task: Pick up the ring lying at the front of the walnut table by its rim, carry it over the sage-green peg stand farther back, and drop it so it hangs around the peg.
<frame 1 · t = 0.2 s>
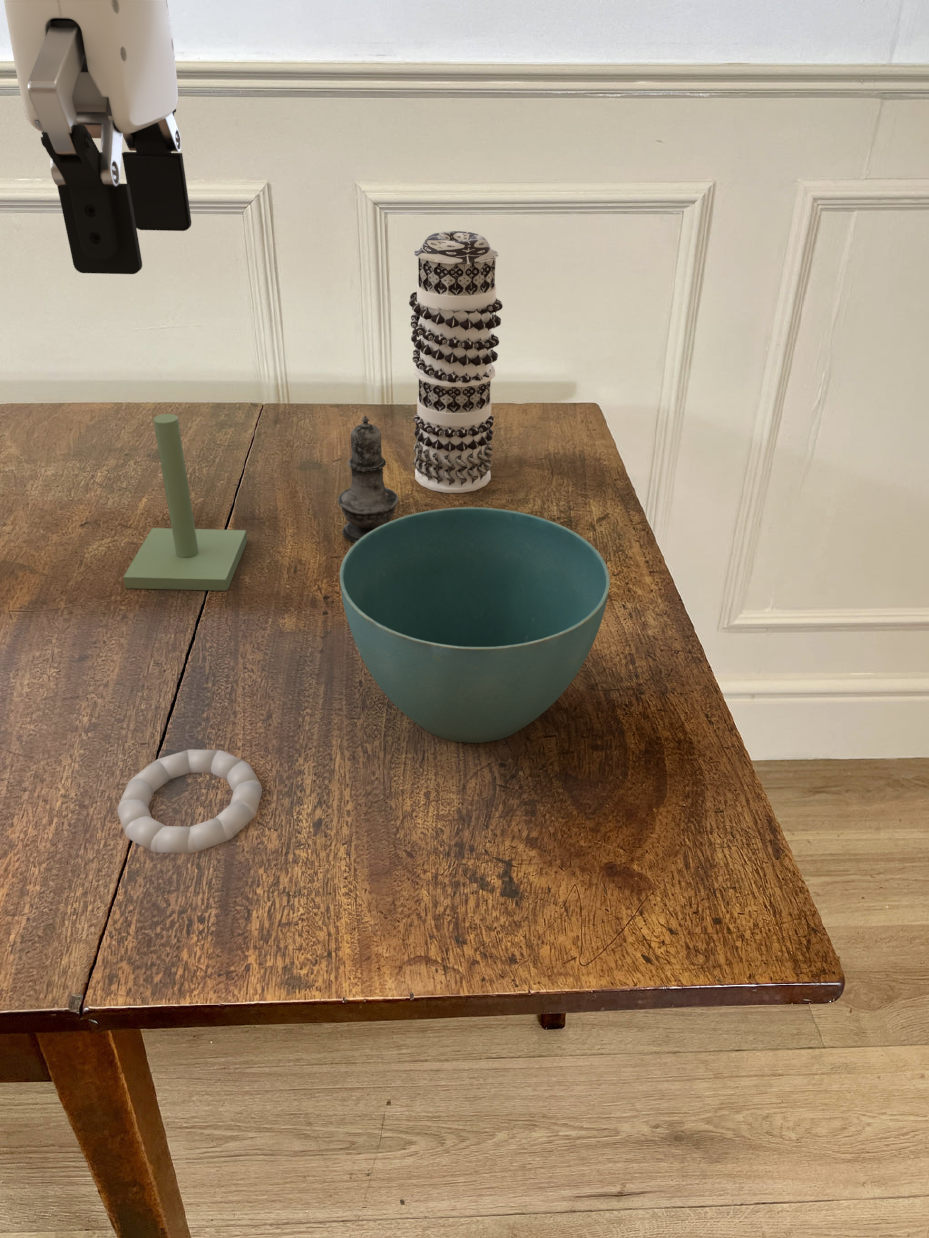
hand: (138, 249, 50), 33 cm above the table, tool pointing down, fingers open, 9 cm apart
rack: (189, 563, 87), on the table
decorative candle: (452, 477, 104), on the table
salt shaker: (369, 533, 93), on the table
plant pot: (469, 710, 71), on the table
ring: (191, 800, 61), point 1 cm above the table
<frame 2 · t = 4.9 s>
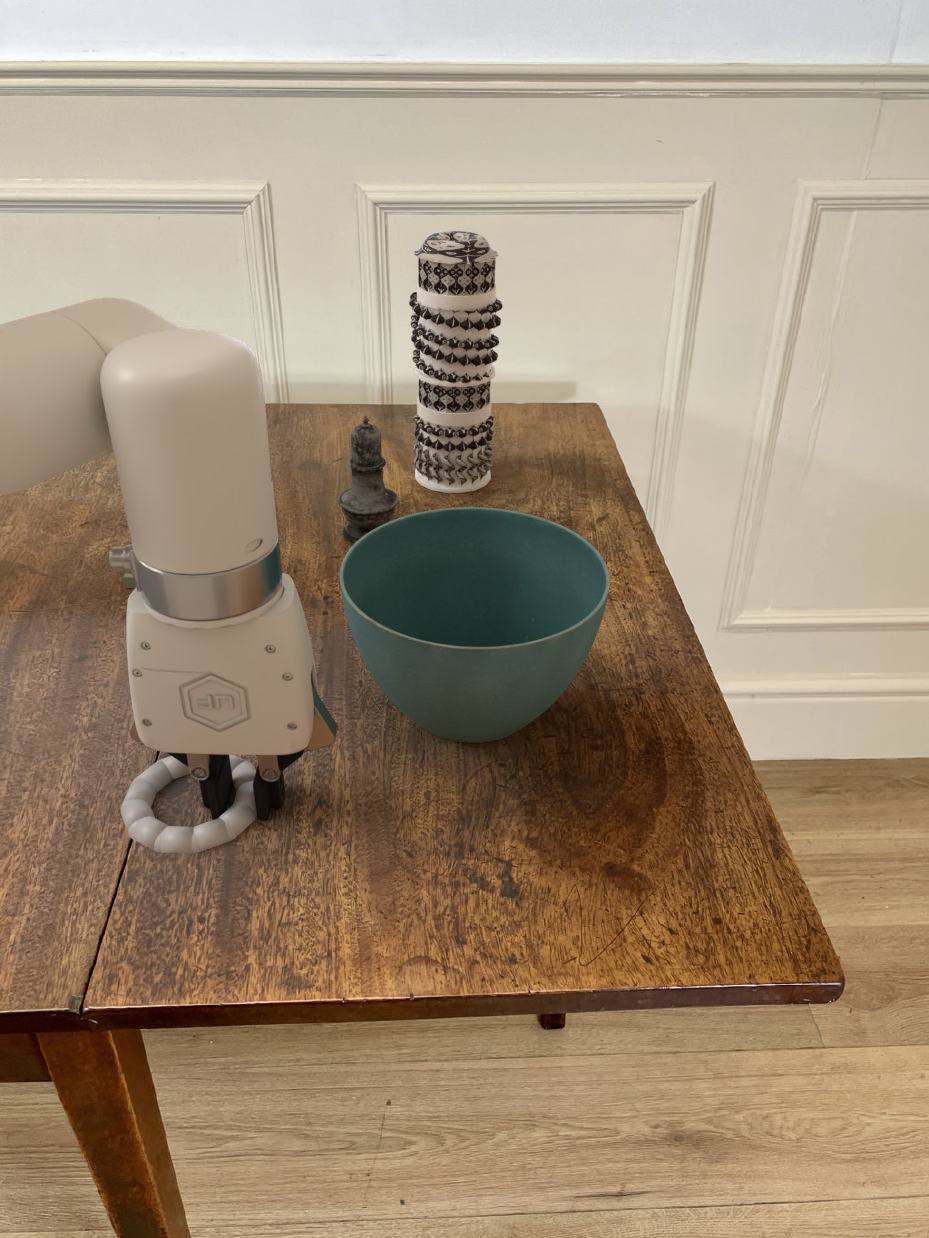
hand: (246, 809, 61), 0 cm above the table, tool pointing down, fingers closed on ring, 2 cm apart
ring: (194, 800, 61), point 1 cm above the table, touching gripper
everything else where it was.
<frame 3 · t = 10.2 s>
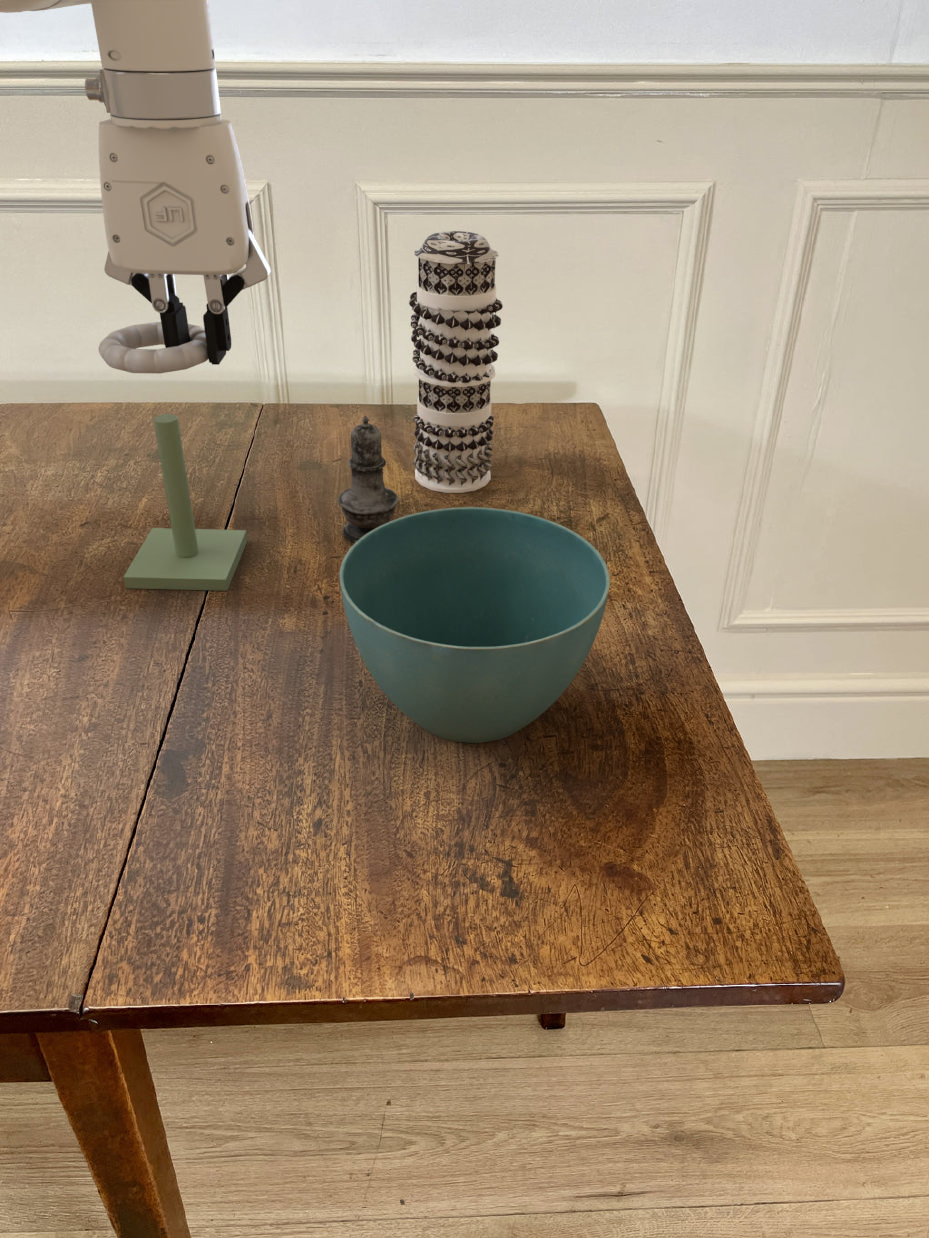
hand: (200, 356, 76), 20 cm above the table, tool pointing down, fingers closed on ring
ring: (158, 346, 75), point 20 cm above the table, touching gripper
everything else where it was.
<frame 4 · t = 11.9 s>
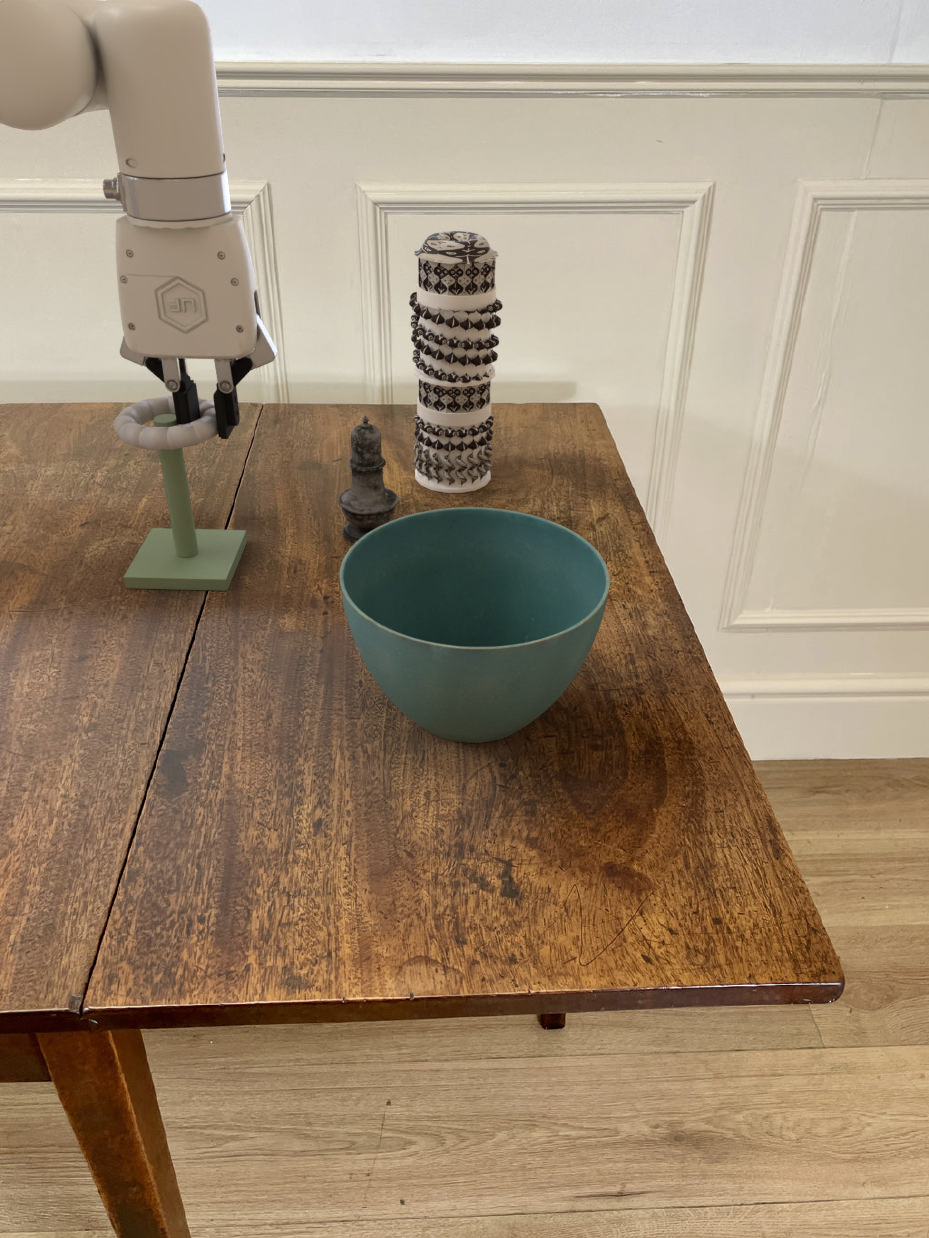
hand: (210, 430, 80), 13 cm above the table, tool pointing down, fingers closed on ring
ring: (169, 421, 79), point 14 cm above the table, touching gripper
everything else where it was.
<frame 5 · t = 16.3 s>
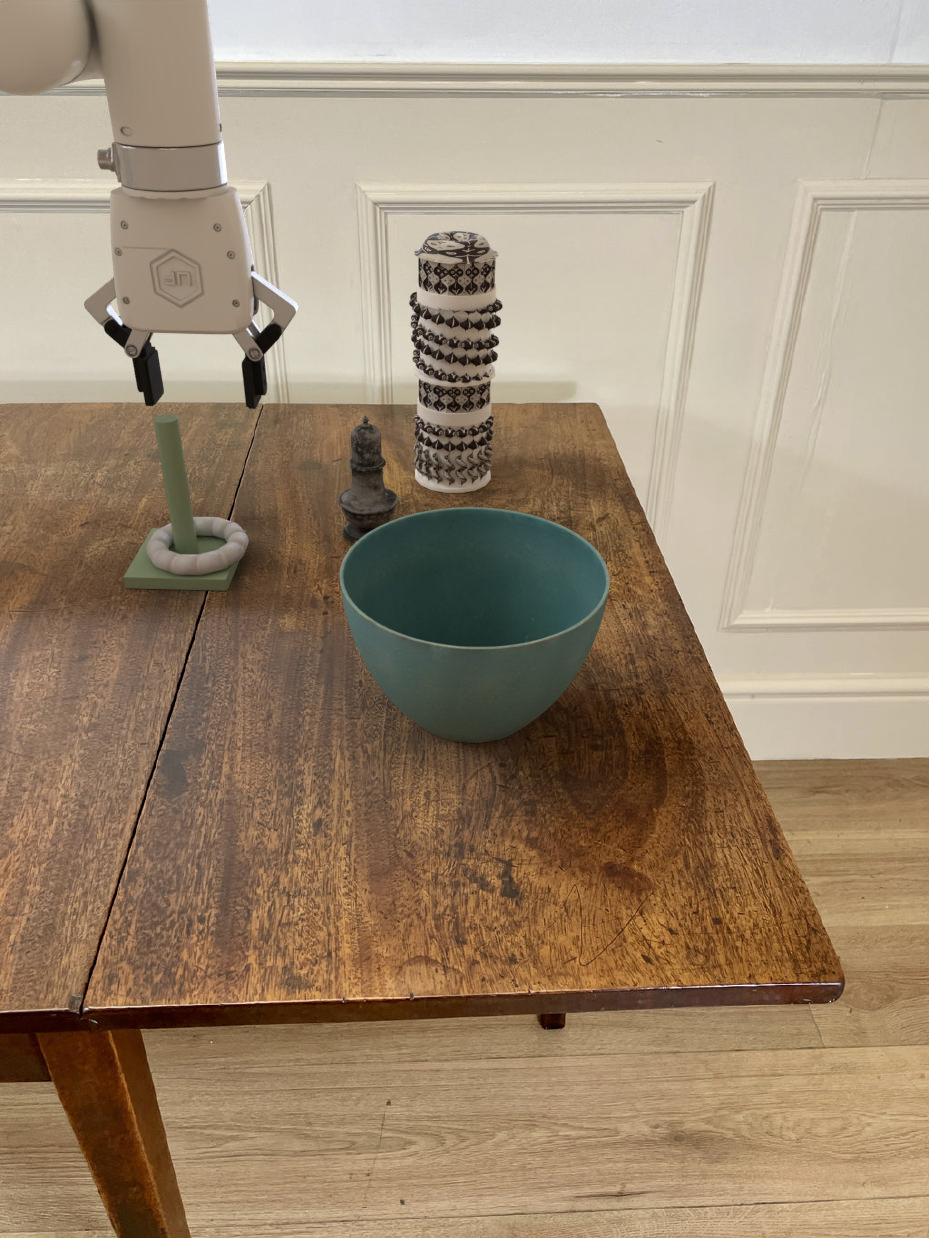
hand: (204, 400, 78), 16 cm above the table, tool pointing down, fingers open, 7 cm apart
ring: (197, 544, 86), point 2 cm above the table, touching rack
everything else where it was.
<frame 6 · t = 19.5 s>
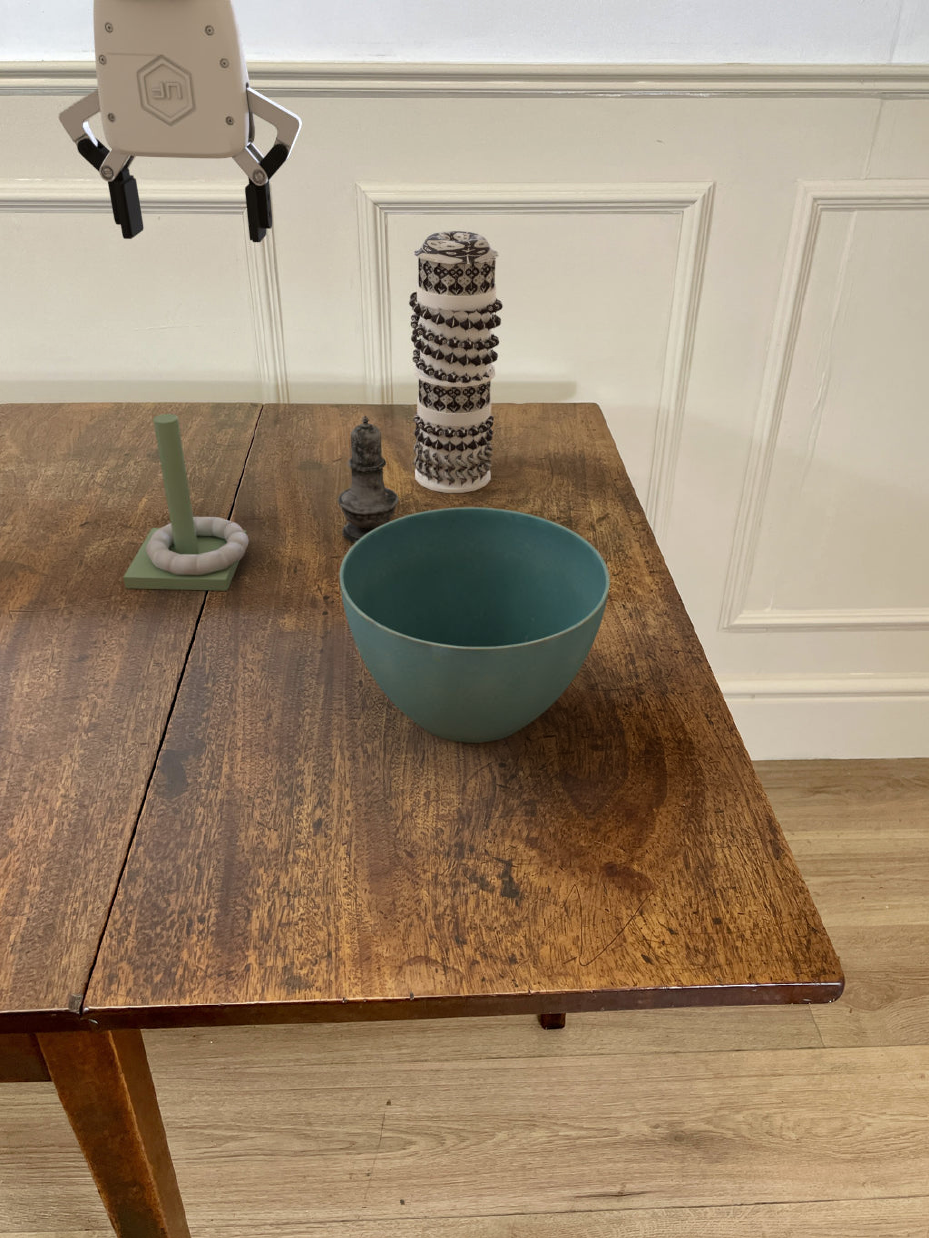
hand: (196, 236, 73), 28 cm above the table, tool pointing down, fingers open, 9 cm apart
nothing on the table moved.
at the end: ring 1.1 cm off-centre on the rack, point 2.1 cm above the rack's base; the gripper is holding nothing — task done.
